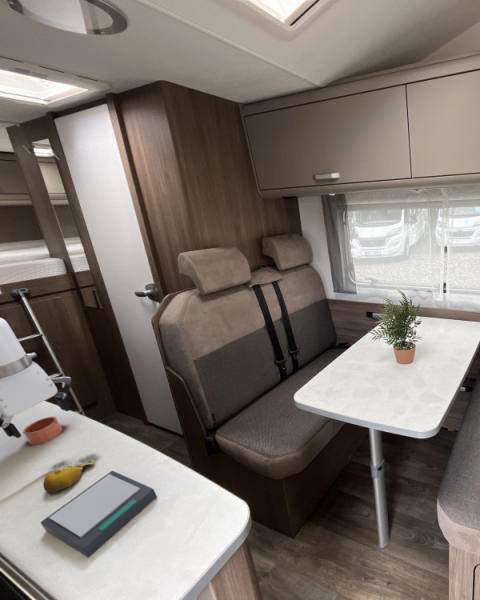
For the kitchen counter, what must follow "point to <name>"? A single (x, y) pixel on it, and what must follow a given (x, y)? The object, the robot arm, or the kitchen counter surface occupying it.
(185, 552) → the kitchen counter surface
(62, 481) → the fruit
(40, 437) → the bowl
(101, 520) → the scale
